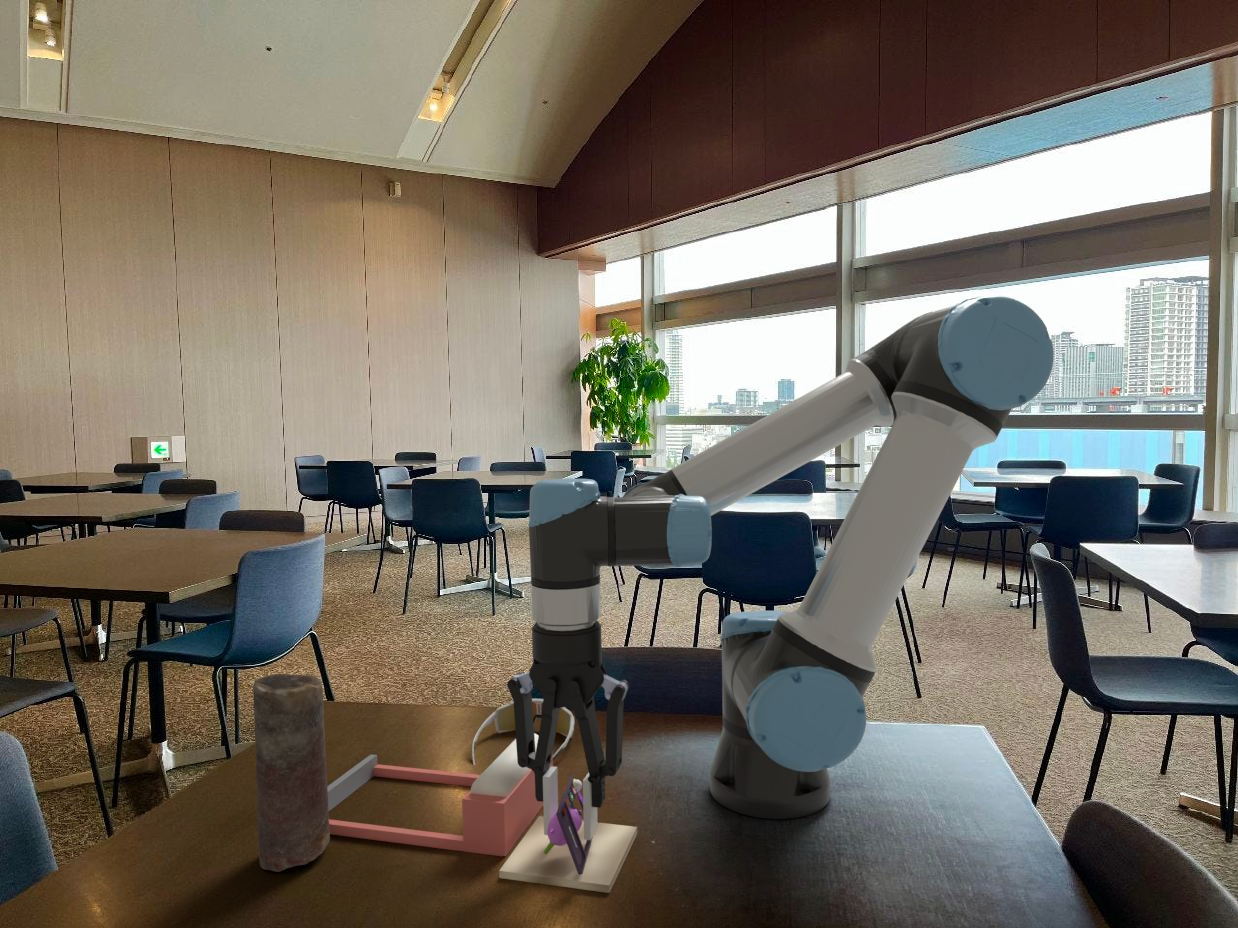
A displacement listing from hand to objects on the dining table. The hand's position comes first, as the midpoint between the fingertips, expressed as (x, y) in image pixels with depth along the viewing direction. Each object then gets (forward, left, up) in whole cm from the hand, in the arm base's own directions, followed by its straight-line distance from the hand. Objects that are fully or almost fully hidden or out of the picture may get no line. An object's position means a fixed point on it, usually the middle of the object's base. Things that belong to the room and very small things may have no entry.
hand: (571, 830), depth 89 cm
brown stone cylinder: (+30, +7, -3) cm, 31 cm away
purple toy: (0, +2, -1) cm, 3 cm away
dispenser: (+20, -6, -3) cm, 21 cm away
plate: (0, 0, -3) cm, 3 cm away
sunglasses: (+16, -27, -3) cm, 31 cm away
